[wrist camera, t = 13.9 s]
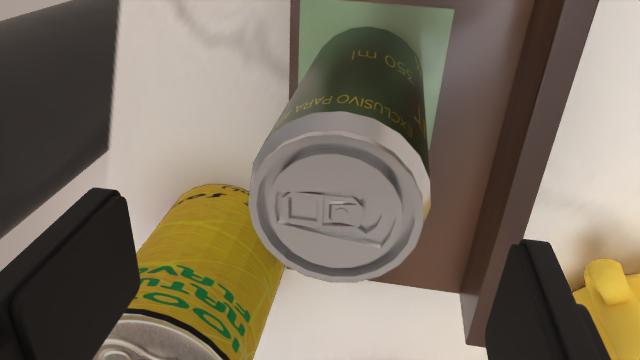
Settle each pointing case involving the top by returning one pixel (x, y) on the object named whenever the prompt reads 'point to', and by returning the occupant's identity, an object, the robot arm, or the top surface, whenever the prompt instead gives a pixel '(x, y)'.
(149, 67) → the top surface
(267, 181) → the beer can
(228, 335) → the beverage can
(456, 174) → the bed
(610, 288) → the teapot
